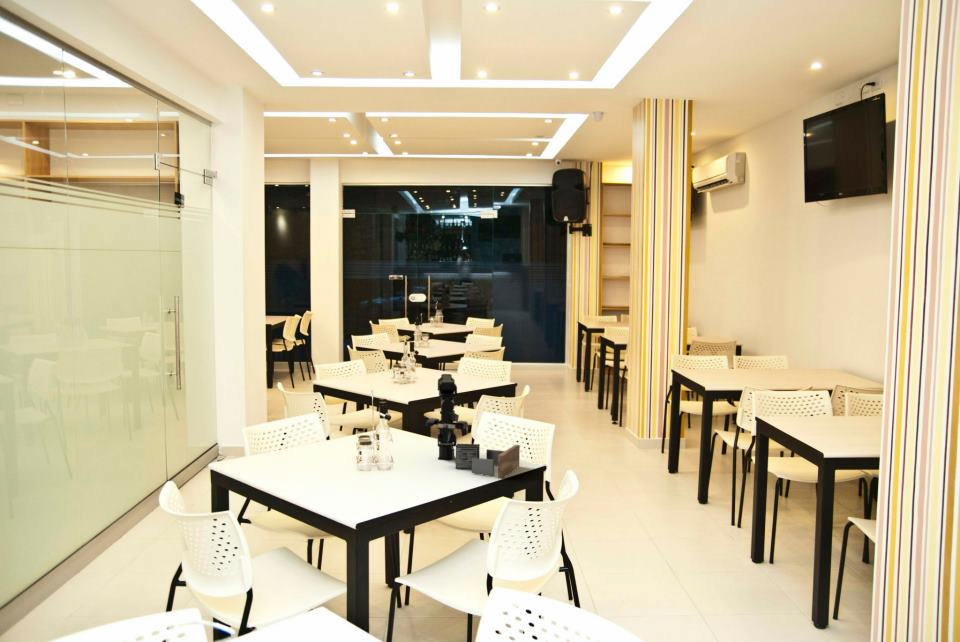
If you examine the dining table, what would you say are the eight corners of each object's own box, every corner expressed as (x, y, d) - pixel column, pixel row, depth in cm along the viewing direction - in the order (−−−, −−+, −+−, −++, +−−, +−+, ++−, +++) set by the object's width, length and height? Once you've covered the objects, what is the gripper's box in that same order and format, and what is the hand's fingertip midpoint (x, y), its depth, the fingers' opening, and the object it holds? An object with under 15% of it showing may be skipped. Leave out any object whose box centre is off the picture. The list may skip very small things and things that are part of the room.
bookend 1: (471, 473, 305) (472, 458, 305) (472, 473, 307) (473, 457, 306) (493, 476, 302) (493, 460, 301) (494, 475, 303) (494, 459, 302)
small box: (479, 466, 319) (480, 443, 318) (478, 469, 312) (478, 446, 312) (457, 465, 320) (457, 442, 319) (455, 469, 313) (455, 446, 313)
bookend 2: (486, 464, 321) (486, 449, 321) (487, 464, 322) (487, 449, 322) (506, 467, 317) (506, 452, 317) (507, 466, 318) (507, 451, 318)
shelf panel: (497, 478, 299) (498, 455, 298) (515, 466, 319) (515, 444, 319) (502, 478, 298) (502, 455, 297) (519, 466, 318) (519, 445, 318)
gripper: (472, 407, 323) (472, 440, 324) (436, 404, 330) (436, 436, 331) (463, 411, 312) (462, 445, 313) (425, 408, 320) (425, 441, 320)
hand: (446, 442), depth 320 cm, fingers closed
